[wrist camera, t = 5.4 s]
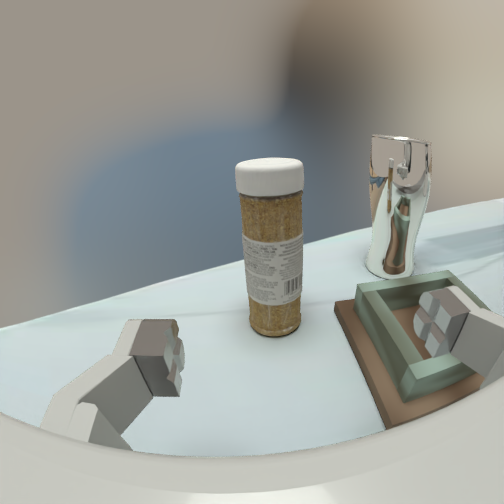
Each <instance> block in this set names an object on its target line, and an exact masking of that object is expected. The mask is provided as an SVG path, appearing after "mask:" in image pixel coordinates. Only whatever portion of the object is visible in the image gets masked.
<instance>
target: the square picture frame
mask: <svg viewBox="0 0 504 504" xmlns="http://www.w3.org/2000/svg"><path fill="white" fill-rule="evenodd" d="M449 286H457V287H458V288H460V289H461V290H462V291H463V292H464V293H465V294H466V295H467V296H468V297H469V298H470V299H471V300H472V301H473V302H474V303H475V304H476V305H477V306H478V307H479V308H480V309H481V308H484V309H486V310H489V311H491V310H490V309H489V308H488V307H487V306H486V305H485V304H484V303H483V302H482V301H481V300H480V299H479V298H478V297H477V296H476V295H475V294H474V293H473V292H472V291H471V290H470V289H469V288H467V287H466V286H465V285H464V284H463V283H462V282H461V281H460V280H459V279H458V278H457V277H456V276H454V275H453V274H452V273H451V272H450V271H449V270H446V271H440V272H434V273H428V274H422V275H416V276H410V277H403V278H397V279H390V280H383V281H376V282H369V283H362V284H357V289H356V295H355V299H351V300H344V301H336V302H335V306H334V311H335V314H336V316H337V318H338V320H339V322H340V324H341V326H342V328H343V330H344V333H345V335H346V337H347V339H348V341H349V343H350V346H351V348H352V350H353V352H354V354H355V357H356V359H357V361H358V363H359V366H360V368H361V370H362V372H363V375H364V377H365V379H366V381H367V384H368V386H369V388H370V391H371V393H372V395H373V398H374V400H375V403H376V405H377V407H378V410H379V412H380V415H381V417H382V420H383V422H384V425H385V427H386V430H388V429H391V428H394V427H397V426H400V425H403V424H405V423H408V422H411V421H414V420H416V419H419V418H421V417H424V416H426V415H429V414H431V413H433V412H436V411H438V410H440V409H443V408H445V407H447V406H449V405H451V404H453V403H455V402H457V401H460V400H462V399H464V398H465V397H467V396H469V395H471V394H473V393H475V392H477V391H479V390H480V385H481V384H482V383H483V381H484V380H485V378H484V377H483V376H481V375H480V374H479V373H477V372H476V371H474V370H473V369H471V368H470V367H468V366H467V365H465V364H464V363H463V362H461V361H460V360H458V359H457V358H455V357H454V356H452V355H451V354H450V353H449V354H446V355H443V356H439V357H436V358H433V357H432V356H431V355H430V353H429V352H428V350H427V349H426V347H425V341H424V340H422V339H420V338H419V337H418V336H417V334H416V333H415V330H414V323H413V320H414V316H415V313H416V312H417V310H418V309H419V308H420V304H419V300H420V297H421V295H422V294H423V293H424V292H428V291H433V290H438V289H443V288H445V287H449ZM491 312H492V311H491Z"/></svg>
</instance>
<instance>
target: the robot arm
mask: <svg viewBox="0 0 504 504" xmlns="http://www.w3.org/2000/svg"><path fill="white" fill-rule="evenodd" d="M419 304H420V308H419V309H418V310H417V312H416V313H415V316H414V320H413V323H414V330H415V333H416V334H417V336H418V337H419V338H420V339H422V340H424V341H425V347H426V349H427V350H428V352H429V353H430V355H431V356H432V357H433V358H436V357H439V356H443V355H446V354H449V353H450V354H451V355H452V356H454V357H455V358H457V359H458V360H460V361H461V362H463V363H464V364H465V365H467V366H468V367H470V368H471V369H473V370H474V371H476V372H477V373H479V374H480V375H481V376H483V377H484V378H485V380H484V381H483V383H482V384H481V385H480V390H479V391H477V392H475V393H473V394H471V395H469V396H467V397H465V398H464V399H462V400H460V401H457V402H455V403H453V404H451V405H449V406H447V407H445V408H443V409H440V410H438V411H436V412H433V413H431V414H429V415H426V416H424V417H421V418H419V419H416V420H414V421H411V422H408V423H405V424H403V425H400V426H397V427H394V428H391V429H388V430H385V431H382V432H378V433H375V434H372V435H368V436H365V437H361V438H357V439H353V440H349V441H345V442H341V443H336V444H332V445H327V446H322V447H316V448H311V449H305V450H298V451H291V452H284V453H275V454H265V455H252V456H232V457H196V456H176V455H163V454H153V453H145V452H137V451H133V450H132V448H131V447H130V446H129V445H128V444H127V442H126V441H125V440H124V439H123V438H122V437H121V436H120V435H121V434H122V433H123V432H124V431H125V430H126V429H127V427H128V426H129V425H130V424H131V423H132V422H133V421H134V419H135V418H136V417H137V416H138V415H139V414H140V413H141V411H142V410H143V409H144V408H145V407H146V406H147V405H148V403H149V402H150V401H151V400H152V399H153V396H157V397H180V390H181V384H182V378H181V375H180V372H181V371H182V370H183V369H184V363H185V353H184V346H183V343H182V340H181V339H180V338H178V337H177V336H178V331H179V328H178V325H177V322H176V320H174V319H144V320H143V319H129V320H128V321H127V322H126V324H125V326H124V328H123V330H122V332H121V335H120V337H119V339H118V342H117V344H116V346H115V349H114V351H113V353H112V355H107V356H105V357H104V358H103V359H101V360H100V361H98V362H97V363H96V364H94V365H93V366H92V367H90V368H89V369H88V370H86V371H85V372H84V373H82V374H81V375H80V376H78V377H77V378H76V379H74V380H73V381H71V382H70V383H69V384H67V385H66V386H65V387H63V388H62V389H61V390H59V391H58V392H57V393H55V394H54V395H53V397H52V400H51V402H50V404H49V406H48V408H47V411H46V413H45V415H44V418H43V420H42V423H41V425H40V428H38V427H36V426H33V425H30V424H28V423H25V422H23V421H20V420H18V419H15V418H13V417H11V416H8V415H6V414H4V413H2V412H0V504H504V317H503V316H500V315H498V314H496V313H493V312H491V311H489V310H486V309H484V308H481V309H480V308H479V307H478V306H477V305H476V304H475V303H474V302H473V301H472V300H471V299H470V298H469V297H468V296H467V295H466V294H465V293H464V292H463V291H462V290H461V289H460V288H458V287H457V286H449V287H445V288H443V289H438V290H433V291H428V292H424V293H423V294H422V295H421V297H420V300H419Z"/></svg>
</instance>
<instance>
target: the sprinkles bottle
mask: <svg viewBox="0 0 504 504" xmlns="http://www.w3.org/2000/svg"><path fill="white" fill-rule="evenodd" d="M235 173H236V174H235V175H236V188H237V191H238V192H240V194H239V197H240V203H241V213H242V229H243V231H242V240H243V251H244V262H245V273H246V283H247V292H248V295H249V307H250V316H249V320H250V324H251V326H252V328H253V329H255V330H256V331H257V332H259V333H261V334H263V335H266V336H281V335H286V334H289V333H291V332H292V331H294V330H295V329H296V328H297V327H298V326H299V324H300V322H301V313H300V297H301V292H302V271H303V229H302V202H301V196H302V193H303V191H302V189H303V187H304V172H303V164H302V162H301V161H299V160H296V159H289V158H262V159H254V160H248V161H244V162H241V163H239V164H237V165H236V167H235Z"/></svg>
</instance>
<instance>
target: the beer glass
mask: <svg viewBox="0 0 504 504" xmlns="http://www.w3.org/2000/svg"><path fill="white" fill-rule="evenodd" d="M431 172H432V157H431V142H429V141H424V140H419V139H413V138H406V137H399V136H388V135H372V145H371V155H370V169H369V189H370V203H371V213H372V228H373V230H372V241H371V245H370V249H369V252H368V255H367V258H366V267H367V269H368V270H369V271H370V272H371V273H373V274H375V275H376V276H379V277H381V278H385V279H397V278H403V277H409V276H411V275H412V273H413V269H414V249H415V243H416V239H417V235H418V232H419V228H420V225H421V222H422V219H423V216H424V213H425V210H426V206H427V202H428V198H429V193H430V185H431Z"/></svg>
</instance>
